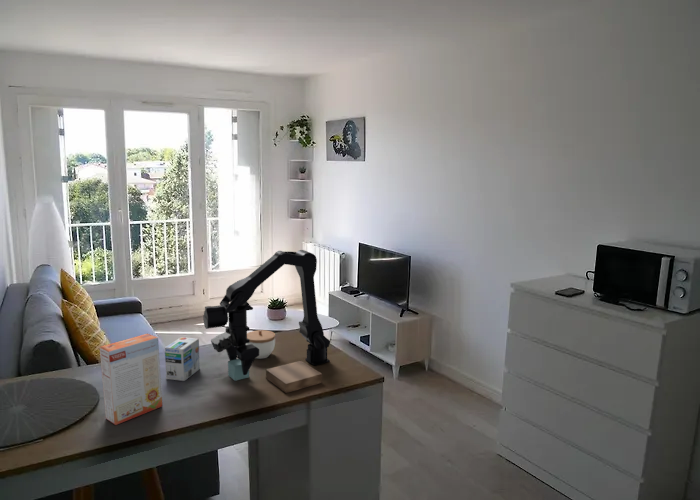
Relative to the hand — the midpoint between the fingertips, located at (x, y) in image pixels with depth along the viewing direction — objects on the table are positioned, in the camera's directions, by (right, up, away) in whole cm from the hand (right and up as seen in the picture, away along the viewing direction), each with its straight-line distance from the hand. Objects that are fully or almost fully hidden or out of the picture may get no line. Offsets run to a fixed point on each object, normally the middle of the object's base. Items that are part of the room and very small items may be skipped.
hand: (238, 369), depth 167 cm
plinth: (+18, -3, -2) cm, 19 cm away
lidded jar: (+4, +1, +18) cm, 19 cm away
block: (0, -2, 0) cm, 2 cm away
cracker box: (-24, -6, -24) cm, 35 cm away
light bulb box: (-18, -2, +2) cm, 19 cm away
